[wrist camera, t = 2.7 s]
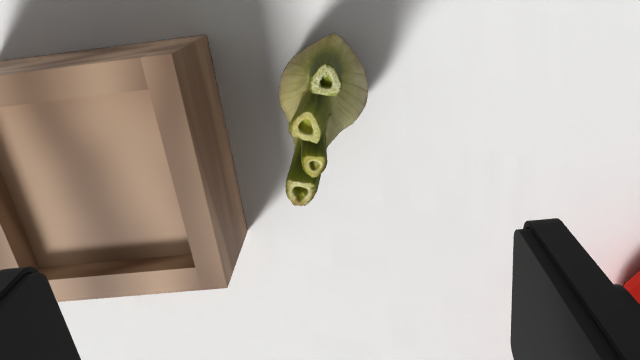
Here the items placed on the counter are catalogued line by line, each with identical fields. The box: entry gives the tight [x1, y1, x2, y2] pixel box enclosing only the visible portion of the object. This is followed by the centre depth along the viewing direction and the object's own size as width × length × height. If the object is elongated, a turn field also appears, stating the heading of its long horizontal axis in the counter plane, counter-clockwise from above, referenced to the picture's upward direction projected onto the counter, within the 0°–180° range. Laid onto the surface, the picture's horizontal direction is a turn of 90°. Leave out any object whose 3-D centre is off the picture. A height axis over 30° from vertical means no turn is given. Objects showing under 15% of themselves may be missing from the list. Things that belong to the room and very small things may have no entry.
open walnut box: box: [0, 35, 247, 302], centre depth 30 cm, size 13×13×6 cm
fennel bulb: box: [279, 33, 368, 206], centre depth 25 cm, size 6×5×12 cm
